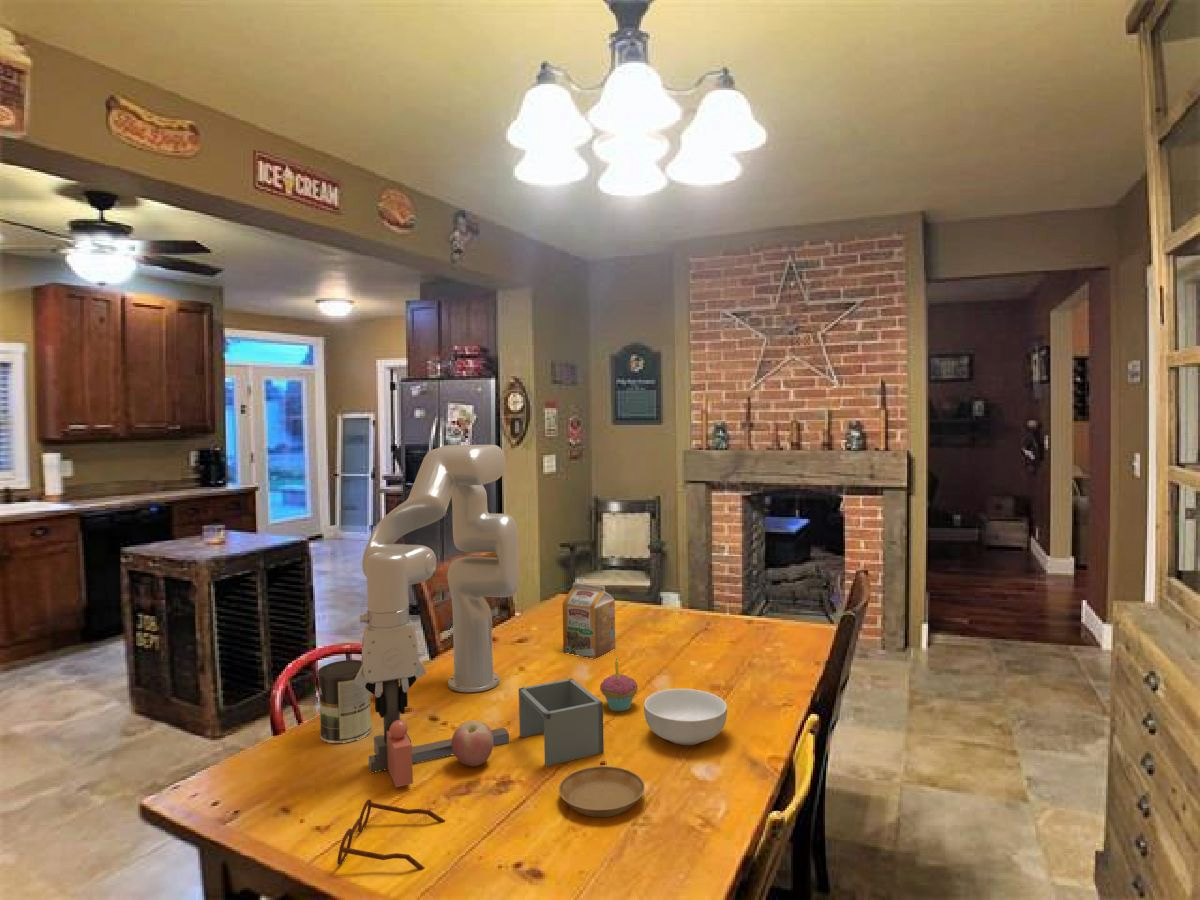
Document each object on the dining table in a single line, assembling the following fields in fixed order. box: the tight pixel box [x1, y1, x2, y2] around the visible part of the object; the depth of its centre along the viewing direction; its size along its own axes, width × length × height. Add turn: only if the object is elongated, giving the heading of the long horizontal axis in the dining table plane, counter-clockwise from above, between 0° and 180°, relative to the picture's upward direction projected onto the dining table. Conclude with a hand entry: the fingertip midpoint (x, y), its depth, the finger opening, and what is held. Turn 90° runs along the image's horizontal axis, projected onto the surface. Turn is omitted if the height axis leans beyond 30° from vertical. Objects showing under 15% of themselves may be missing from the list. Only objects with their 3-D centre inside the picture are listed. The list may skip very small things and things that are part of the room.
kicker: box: [373, 679, 414, 788], centre depth 135 cm, size 14×6×16 cm, turn 26°
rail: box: [368, 727, 510, 773], centre depth 143 cm, size 3×27×2 cm, turn 116°
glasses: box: [337, 798, 446, 870], centre depth 113 cm, size 13×13×5 cm
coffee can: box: [317, 659, 372, 744], centre depth 153 cm, size 10×10×14 cm
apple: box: [451, 720, 494, 767], centre depth 139 cm, size 8×8×8 cm
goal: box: [518, 677, 605, 767], centre depth 146 cm, size 15×12×10 cm
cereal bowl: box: [643, 688, 728, 746], centre depth 149 cm, size 17×17×7 cm
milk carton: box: [562, 582, 616, 660], centre depth 204 cm, size 11×11×19 cm
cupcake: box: [599, 657, 638, 712], centre depth 164 cm, size 9×8×12 cm
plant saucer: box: [558, 765, 646, 818], centre depth 125 cm, size 15×15×3 cm
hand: (391, 712), depth 139 cm, fingers closed on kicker, 3 cm apart
